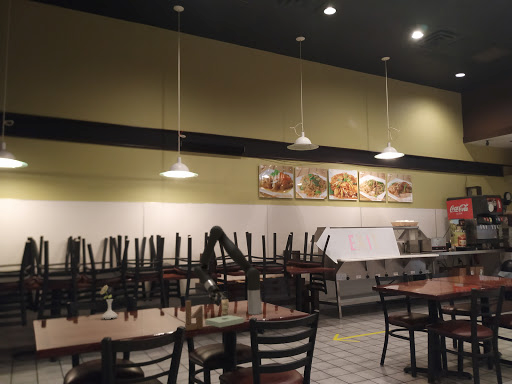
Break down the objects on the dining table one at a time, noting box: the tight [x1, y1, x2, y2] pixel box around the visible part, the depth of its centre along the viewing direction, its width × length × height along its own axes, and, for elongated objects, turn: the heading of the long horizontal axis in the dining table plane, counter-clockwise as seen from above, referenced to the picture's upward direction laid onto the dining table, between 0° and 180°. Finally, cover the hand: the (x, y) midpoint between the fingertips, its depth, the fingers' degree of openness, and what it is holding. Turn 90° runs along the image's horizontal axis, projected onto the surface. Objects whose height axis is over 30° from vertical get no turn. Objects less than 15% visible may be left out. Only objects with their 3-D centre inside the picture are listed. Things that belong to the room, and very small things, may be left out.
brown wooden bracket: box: [184, 299, 204, 332], centre depth 267 cm, size 4×11×18 cm, turn 113°
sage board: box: [205, 314, 245, 328], centre depth 281 cm, size 20×16×3 cm
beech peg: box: [220, 298, 230, 316], centre depth 298 cm, size 5×5×13 cm
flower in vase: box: [99, 284, 119, 320], centre depth 313 cm, size 13×11×25 cm
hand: (223, 304), depth 300 cm, fingers open, 8 cm apart
